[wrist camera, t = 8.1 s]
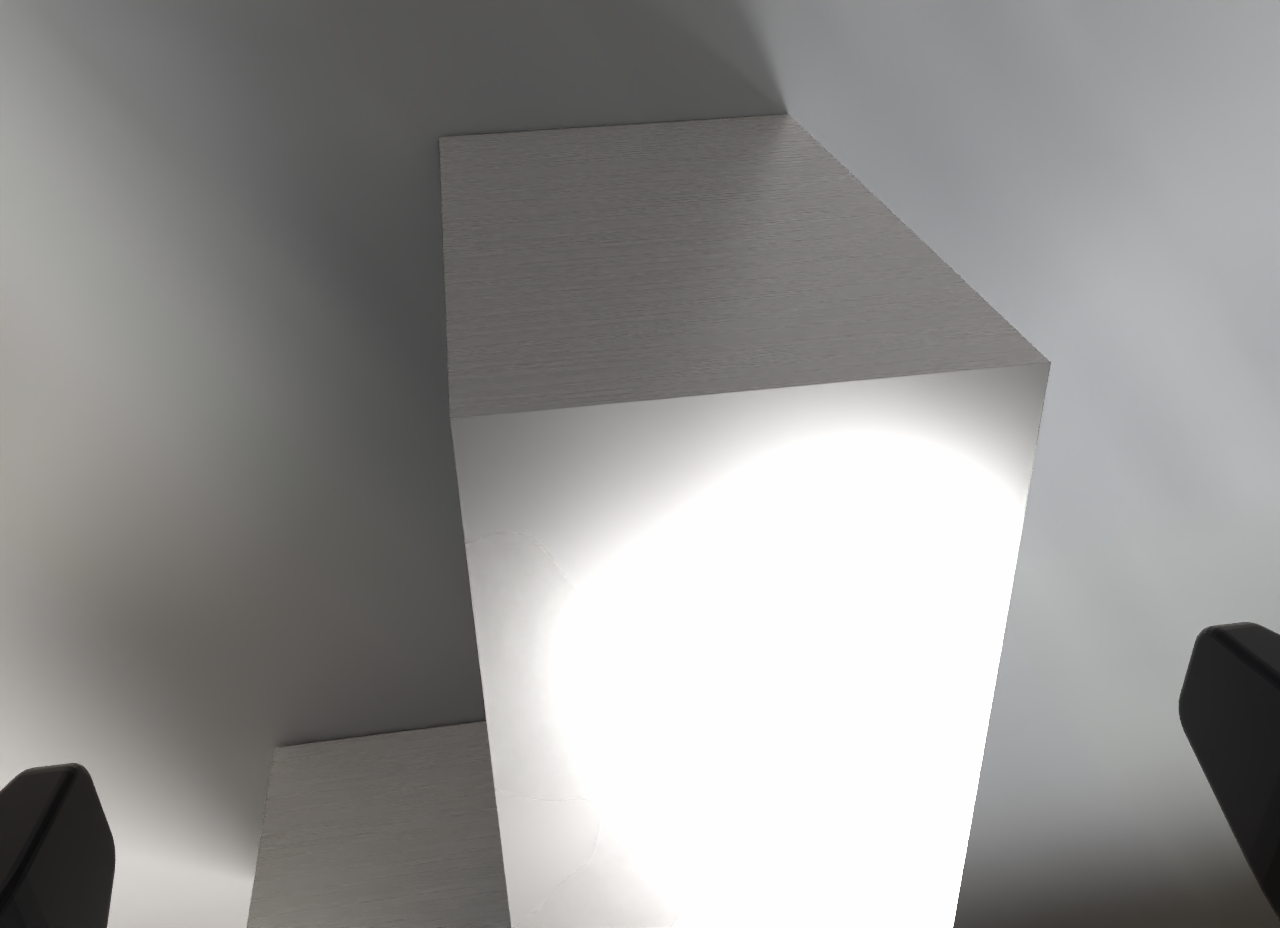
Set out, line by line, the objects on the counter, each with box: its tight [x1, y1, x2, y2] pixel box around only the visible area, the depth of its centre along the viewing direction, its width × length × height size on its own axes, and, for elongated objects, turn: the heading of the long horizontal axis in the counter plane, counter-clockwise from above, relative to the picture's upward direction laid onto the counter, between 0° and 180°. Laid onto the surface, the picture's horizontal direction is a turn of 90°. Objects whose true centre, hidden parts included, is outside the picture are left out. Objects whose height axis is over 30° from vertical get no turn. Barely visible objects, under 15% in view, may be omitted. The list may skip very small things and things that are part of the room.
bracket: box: [247, 114, 1051, 928], centre depth 10 cm, size 9×6×5 cm, turn 1°
